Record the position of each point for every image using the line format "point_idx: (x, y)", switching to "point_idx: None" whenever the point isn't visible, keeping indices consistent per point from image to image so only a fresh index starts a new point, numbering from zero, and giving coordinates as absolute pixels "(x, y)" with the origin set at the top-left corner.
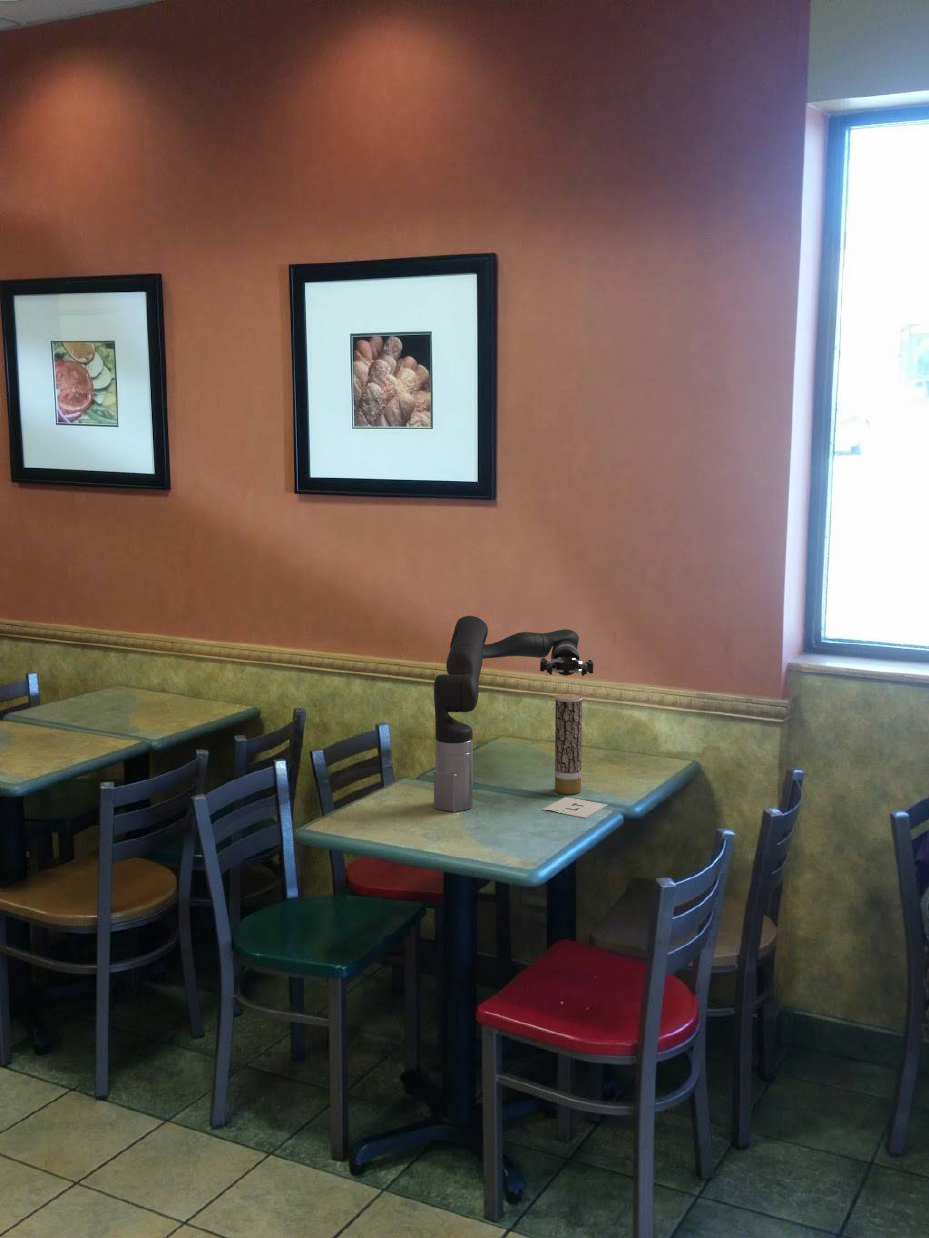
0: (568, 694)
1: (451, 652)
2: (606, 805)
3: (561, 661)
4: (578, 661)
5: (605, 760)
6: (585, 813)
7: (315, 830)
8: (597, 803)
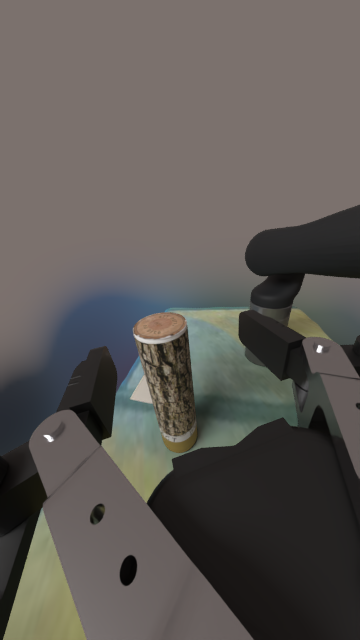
0: (164, 336)
1: None
2: (131, 396)
3: (327, 475)
4: (99, 449)
5: None
6: None
7: (294, 308)
8: (140, 398)
